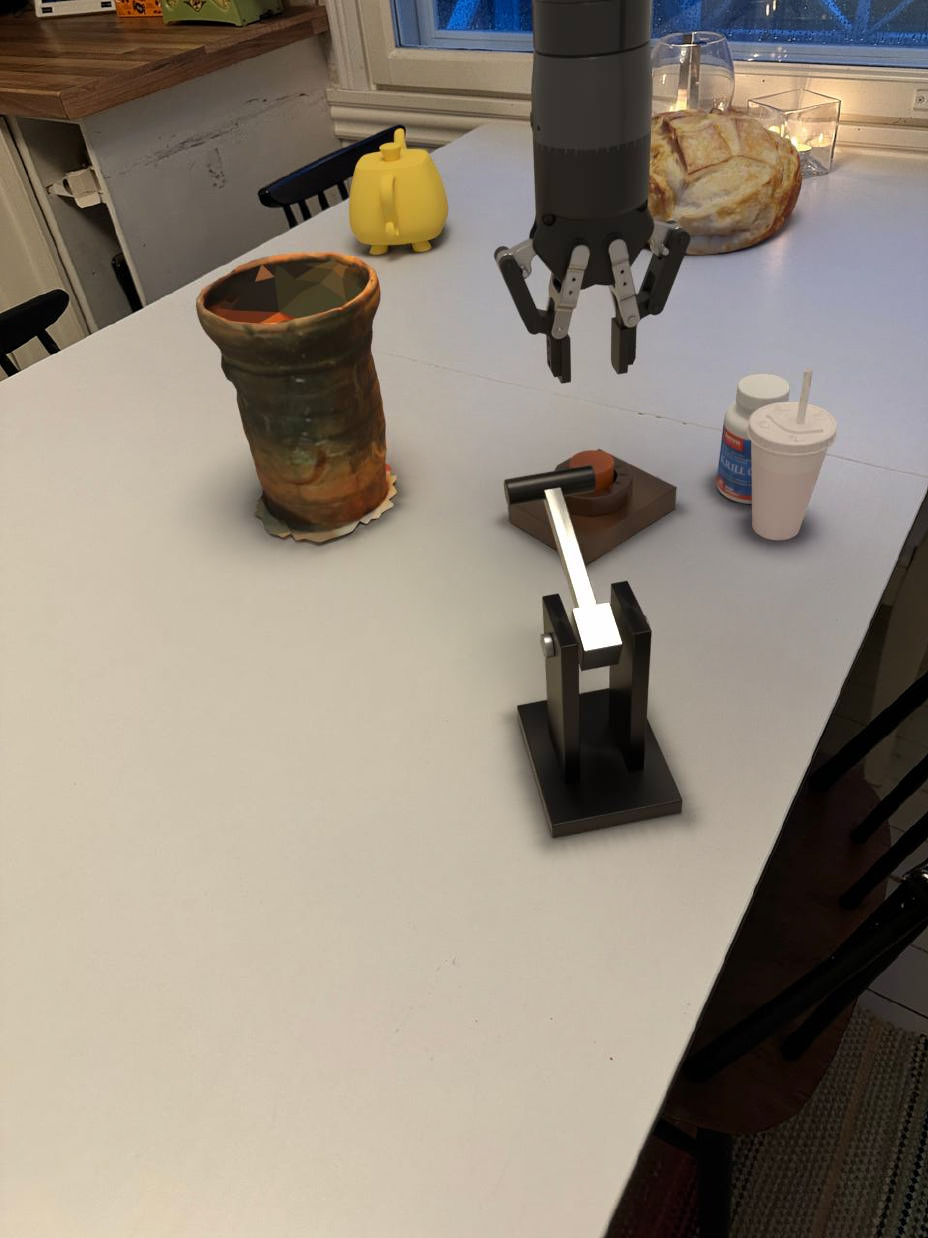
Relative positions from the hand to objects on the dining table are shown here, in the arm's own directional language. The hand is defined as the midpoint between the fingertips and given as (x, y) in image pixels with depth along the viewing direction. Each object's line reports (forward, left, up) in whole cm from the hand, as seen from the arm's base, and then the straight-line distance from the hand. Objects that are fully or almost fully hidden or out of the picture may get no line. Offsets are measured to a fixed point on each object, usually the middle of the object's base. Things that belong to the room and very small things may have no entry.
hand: (591, 372), depth 70 cm
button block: (0, 0, -13) cm, 13 cm away
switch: (+16, +14, -2) cm, 22 cm away
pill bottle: (-12, +7, -13) cm, 19 cm away
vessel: (+14, -19, -13) cm, 27 cm away
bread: (-58, -38, -13) cm, 71 cm away
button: (0, 0, -10) cm, 10 cm away
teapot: (-30, -67, -13) cm, 75 cm away
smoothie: (-9, +12, -13) cm, 20 cm away
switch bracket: (+19, +19, -13) cm, 30 cm away
